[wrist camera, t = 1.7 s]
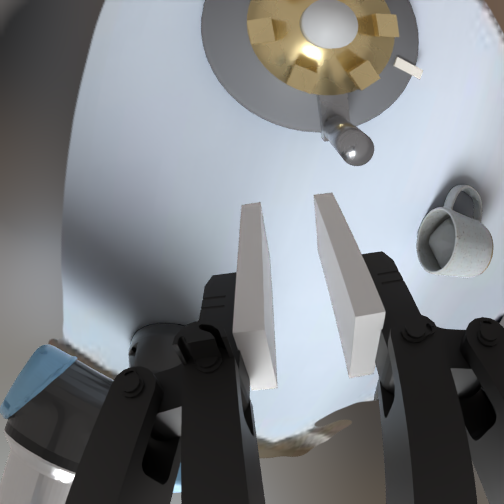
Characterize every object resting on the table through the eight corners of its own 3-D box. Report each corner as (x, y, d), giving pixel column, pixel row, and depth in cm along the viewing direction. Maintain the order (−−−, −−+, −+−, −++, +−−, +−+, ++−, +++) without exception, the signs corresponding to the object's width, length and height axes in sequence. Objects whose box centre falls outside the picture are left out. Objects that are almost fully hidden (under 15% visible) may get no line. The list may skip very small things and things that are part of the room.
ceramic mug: (453, 257, 38) (479, 293, 32) (408, 248, 37) (433, 287, 31) (485, 190, 32) (519, 219, 26) (440, 172, 31) (476, 202, 25)
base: (225, 142, 30) (218, 166, 24) (187, -44, 19) (168, -67, 13) (417, 123, 28) (451, 142, 22) (394, -54, 17) (426, -72, 11)
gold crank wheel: (236, -23, 19) (228, -54, 12) (370, -29, 18) (412, -52, 11) (267, 142, 28) (272, 176, 21) (389, 129, 27) (432, 160, 20)
